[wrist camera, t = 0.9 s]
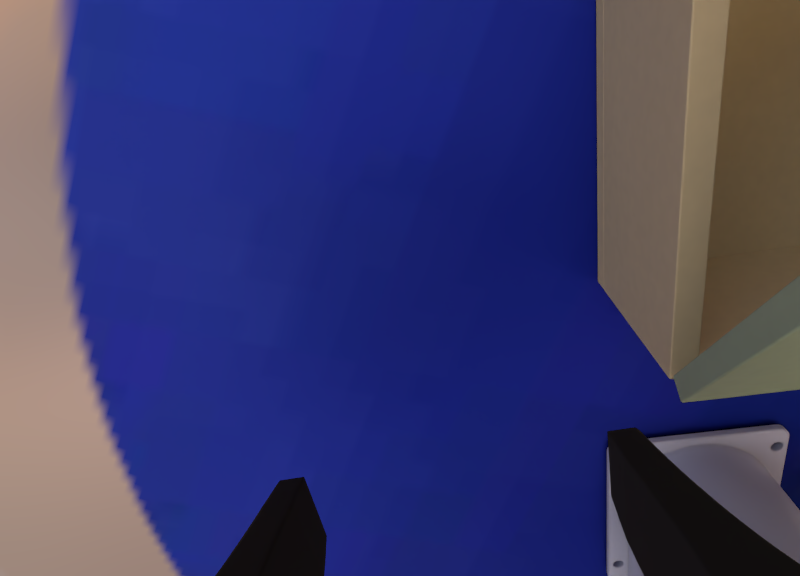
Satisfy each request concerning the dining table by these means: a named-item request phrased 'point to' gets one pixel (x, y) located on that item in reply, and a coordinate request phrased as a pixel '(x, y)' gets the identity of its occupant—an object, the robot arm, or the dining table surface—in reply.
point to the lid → (750, 354)
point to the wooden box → (696, 165)
